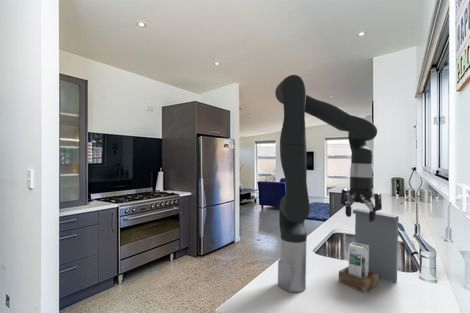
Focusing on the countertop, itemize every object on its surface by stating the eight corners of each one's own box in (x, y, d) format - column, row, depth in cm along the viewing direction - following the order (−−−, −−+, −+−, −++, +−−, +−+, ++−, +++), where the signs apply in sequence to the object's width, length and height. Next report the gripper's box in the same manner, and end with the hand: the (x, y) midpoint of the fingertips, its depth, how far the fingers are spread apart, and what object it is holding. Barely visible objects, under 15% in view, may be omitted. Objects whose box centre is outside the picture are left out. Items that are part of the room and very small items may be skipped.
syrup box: (347, 283, 97) (348, 244, 97) (352, 278, 101) (353, 241, 101) (364, 288, 93) (364, 248, 93) (368, 283, 98) (369, 244, 97)
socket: (365, 293, 90) (365, 281, 90) (338, 281, 98) (338, 271, 98) (378, 284, 96) (378, 274, 96) (352, 274, 104) (352, 264, 104)
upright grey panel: (392, 284, 97) (394, 217, 97) (351, 268, 110) (352, 209, 109) (397, 281, 99) (398, 216, 99) (356, 266, 112) (357, 208, 112)
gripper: (337, 174, 100) (336, 216, 100) (376, 177, 89) (374, 224, 89) (348, 174, 105) (347, 214, 105) (385, 177, 94) (384, 221, 94)
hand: (359, 218), depth 97 cm, fingers open, 8 cm apart
